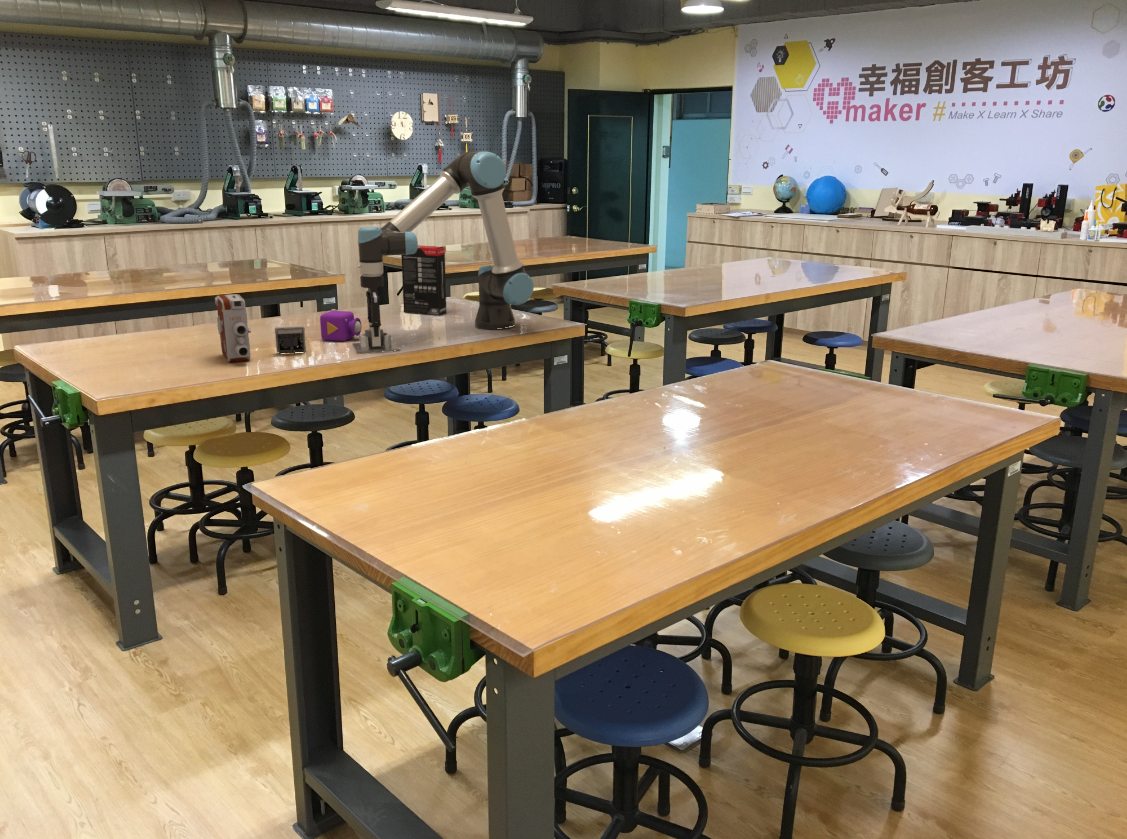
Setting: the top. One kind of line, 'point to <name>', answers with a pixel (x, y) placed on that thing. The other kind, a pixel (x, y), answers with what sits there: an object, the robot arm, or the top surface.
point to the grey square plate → (365, 348)
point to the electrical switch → (290, 339)
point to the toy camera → (339, 325)
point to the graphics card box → (424, 281)
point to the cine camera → (233, 327)
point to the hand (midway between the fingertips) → (375, 343)
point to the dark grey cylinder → (369, 335)
